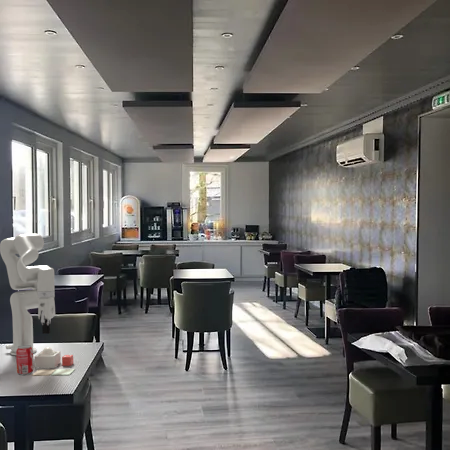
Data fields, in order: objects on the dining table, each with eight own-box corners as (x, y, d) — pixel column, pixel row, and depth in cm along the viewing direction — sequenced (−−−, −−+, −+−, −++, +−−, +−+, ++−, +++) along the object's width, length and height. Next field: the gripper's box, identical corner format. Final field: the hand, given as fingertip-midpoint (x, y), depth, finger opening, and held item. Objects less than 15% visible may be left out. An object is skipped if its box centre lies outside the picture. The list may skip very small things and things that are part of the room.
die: (62, 365, 249) (61, 356, 249) (64, 363, 253) (64, 354, 253) (70, 365, 249) (70, 356, 249) (73, 363, 253) (73, 354, 253)
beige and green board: (31, 375, 234) (31, 374, 234) (38, 370, 242) (38, 369, 242) (69, 375, 234) (69, 374, 234) (74, 369, 242) (74, 369, 242)
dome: (38, 360, 247) (38, 349, 247) (43, 356, 253) (43, 345, 253) (52, 360, 247) (52, 348, 246) (56, 356, 253) (56, 345, 253)
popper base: (34, 368, 245) (34, 356, 245) (41, 362, 254) (41, 351, 254) (54, 368, 245) (54, 356, 245) (60, 362, 254) (60, 351, 254)
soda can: (29, 370, 243) (28, 343, 243) (36, 373, 238) (35, 346, 238) (14, 373, 238) (13, 346, 238) (20, 376, 233) (20, 349, 233)
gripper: (48, 297, 242) (48, 337, 243) (59, 291, 257) (59, 329, 258) (32, 297, 242) (32, 337, 243) (43, 291, 257) (44, 329, 258)
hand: (46, 333), depth 250 cm, fingers closed
